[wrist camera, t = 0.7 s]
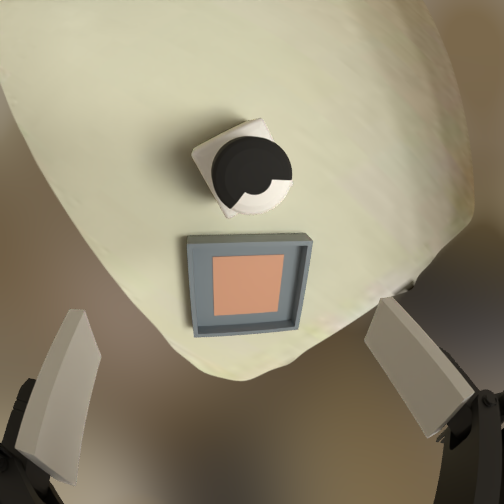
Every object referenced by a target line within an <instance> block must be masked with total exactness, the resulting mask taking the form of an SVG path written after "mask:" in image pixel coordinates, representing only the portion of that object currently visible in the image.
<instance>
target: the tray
mask: <svg viewBox="0 0 504 504" xmlns="http://www.w3.org/2000/svg"><path fill="white" fill-rule="evenodd" d="M312 244H313V240H312V239H311V238H310V237H309V236H308V235H307V234H306V233H302V234H240V235H200V236H188V237H187V257H188V273H189V287H190V300H191V311H192V322H193V331H194V337H215V336H232V335H246V334H258V333H269V332H279V331H288V330H297V329H298V327H299V322H300V316H301V311H302V306H303V300H304V294H305V289H306V283H307V277H308V271H309V264H310V258H311V251H312Z"/></svg>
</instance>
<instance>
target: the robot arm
mask: <svg viewBox="0 0 504 504" xmlns="http://www.w3.org/2000/svg"><path fill="white" fill-rule="evenodd" d="M364 341H365V343H366V345H367V346H368V347H369V349H370V350H371V352H372V353H373V355H374V356H375V358H376V359H377V361H378V362H379V364H380V365H381V367H382V368H383V370H384V371H385V373H386V374H387V376H388V377H389V379H390V380H391V382H392V383H393V385H394V386H395V388H396V389H397V391H398V392H399V394H400V396H401V397H402V399H403V400H404V402H405V403H406V405H407V407H408V408H409V410H410V411H411V413H412V415H413V416H414V418H415V419H416V421H417V422H418V424H419V426H420V427H421V429H422V431H423V432H424V434H425V436H426V437H427V438H429V437H430V436H432V435H434V434H435V433H437V432H439V431H440V430H441V429H442V428H443V427H444V426H445V425H446V424H447V425H448V427H447V429H446V430H444V432H442V433H441V434H440V435H439V437H438V438H437V440H436V442H439V441H440V440H441V439H442V438H443V437H444V436H445V438H443V440H442V441H441V443H444V449H443V456H442V463H441V470H440V476H439V481H438V486H437V491H436V495H435V500H434V504H504V428H503V429H502V430H501V424H502V423H503V422H504V391H503V392H501V393H497V394H494V393H493V392H491V391H489V390H482V391H479V389H478V388H477V387H476V386H475V385H474V384H473V382H472V381H471V380H470V378H469V377H468V376H467V375H466V374H465V372H464V371H463V370H462V369H461V368H460V366H459V365H458V364H457V363H456V362H455V360H454V359H453V358H452V357H451V356H450V354H449V353H447V352H446V351H445V350H443V349H442V348H440V347H439V348H438V346H437V345H436V344H435V343H434V342H433V341H432V340H431V338H430V337H429V336H428V335H427V334H426V333H425V332H424V331H423V329H422V328H421V327H420V326H419V325H418V324H417V323H416V322H415V321H414V320H413V319H412V317H410V315H409V314H408V313H407V312H406V311H405V310H404V309H403V308H402V307H401V306H400V305H399V304H398V303H397V302H396V300H394V298H393V297H387V298H380V301H379V304H378V307H377V309H376V312H375V315H374V317H373V320H372V323H371V325H370V327H369V330H368V332H367V335H366V337H365V339H364ZM100 359H101V354H100V352H99V349H98V347H97V344H96V341H95V339H94V336H93V333H92V330H91V327H90V324H89V321H88V318H87V315H86V312H85V310H77V309H70V310H69V311H68V313H67V315H66V317H65V319H64V321H63V323H62V325H61V327H60V329H59V331H58V333H57V335H56V337H55V339H54V341H53V343H52V345H51V348H50V350H49V352H48V354H47V356H46V359H45V361H44V363H43V366H42V368H41V370H40V373H39V375H38V378H37V380H35V379H30V378H29V379H28V380H27V381H26V382H25V383H24V384H23V385H22V386H21V388H20V390H19V393H18V396H17V401H15V403H14V407H13V410H12V412H11V415H10V418H9V421H8V424H7V427H6V431H5V434H4V437H3V440H2V443H0V504H64V503H63V501H62V500H61V498H60V497H59V495H58V494H57V492H56V490H55V488H54V487H53V485H52V484H51V483H50V481H49V479H50V476H51V477H53V478H54V479H56V480H58V481H60V482H63V483H66V484H70V485H74V486H76V482H77V473H78V464H79V457H80V450H81V444H82V437H83V432H84V426H85V421H86V416H87V411H88V407H89V402H90V398H91V394H92V389H93V386H94V382H95V378H96V374H97V370H98V367H99V362H100Z"/></svg>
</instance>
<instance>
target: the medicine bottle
mask: <svg viewBox="0 0 504 504" xmlns="http://www.w3.org/2000/svg"><path fill="white" fill-rule="evenodd" d="M191 156H192V158H193V160H194V162H195V163H196V165H197V167H198V169H199V171H200V172H201V174H202V176H203V178H204V180H205V181H206V183H207V185H208V187H209V188H210V190H211V192H212V194H213V196H214V197H215V199H216V201H217V203H218V204H219V206H220V208H221V210H222V212H223V213H224V215H225V217H226V218H231V217H233V216H235V215H237V214H239V213H240V214H245V215H257V214H262V213H265V212H267V211H270V210H272V209H273V208H275V207H276V206H277V205H278V204H280V203H281V201H282V200H283V199H284V198H285V196H286V195H287V193H288V191H289V188H290V187H291V186H292V185H293V181H292V168H291V164H290V161H289V158H288V157H287V155H286V153H285V152H284V151H283V149H282V148H281V147H280V146H278V145H277V144H276V143H275V142H274V139H273V137H272V135H271V133H270V131H269V129H268V127H267V125H266V123H265V121H264V119H262V118H258V119H253V120H248V121H246V122H243V123H241V124H239V125H237V126H235V127H233V128H231V129H229V130H227V131H225V132H223V133H221V134H219V135H217V136H215V137H213V138H211V139H209V140H207V141H206V142H204V143H202V144H200V145H198V146H196V147H195V148H194V149H193V151H192V154H191Z"/></svg>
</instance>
